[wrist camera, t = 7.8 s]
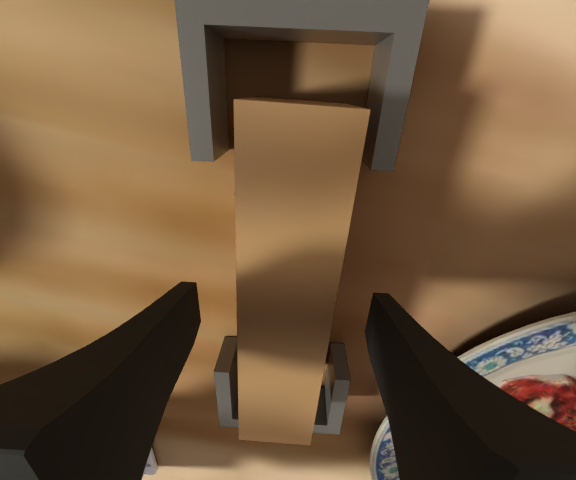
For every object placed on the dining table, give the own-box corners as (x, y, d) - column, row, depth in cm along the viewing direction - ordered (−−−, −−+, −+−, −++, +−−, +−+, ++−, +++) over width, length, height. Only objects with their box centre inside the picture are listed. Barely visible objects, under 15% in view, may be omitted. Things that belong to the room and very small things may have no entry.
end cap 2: (335, 395, 20) (339, 434, 17) (228, 388, 20) (219, 426, 18) (344, 344, 18) (350, 380, 15) (224, 336, 18) (213, 371, 15)
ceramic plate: (545, 536, 28) (570, 582, 25) (304, 464, 24) (305, 510, 22) (892, 373, 17) (1000, 424, 15) (555, 192, 13) (619, 218, 11)
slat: (308, 361, 19) (310, 445, 14) (253, 356, 19) (238, 439, 14) (344, 102, 12) (370, 109, 7) (258, 96, 12) (233, 99, 7)
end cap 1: (377, 157, 13) (393, 171, 10) (210, 148, 13) (191, 160, 10) (401, 19, 10) (429, -1, 8) (200, 10, 10) (173, -12, 8)
